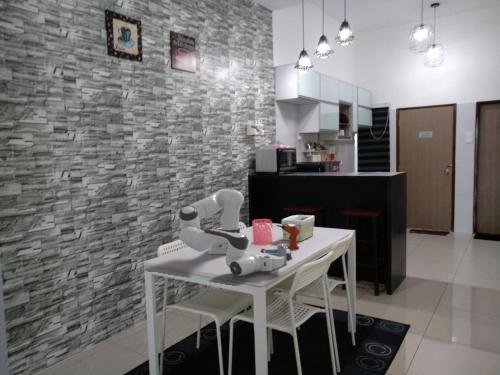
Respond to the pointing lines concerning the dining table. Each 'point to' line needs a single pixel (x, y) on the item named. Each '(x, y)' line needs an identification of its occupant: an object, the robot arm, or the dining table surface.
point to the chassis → (274, 252)
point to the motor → (282, 252)
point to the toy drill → (291, 236)
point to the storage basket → (299, 226)
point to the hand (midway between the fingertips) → (277, 256)
